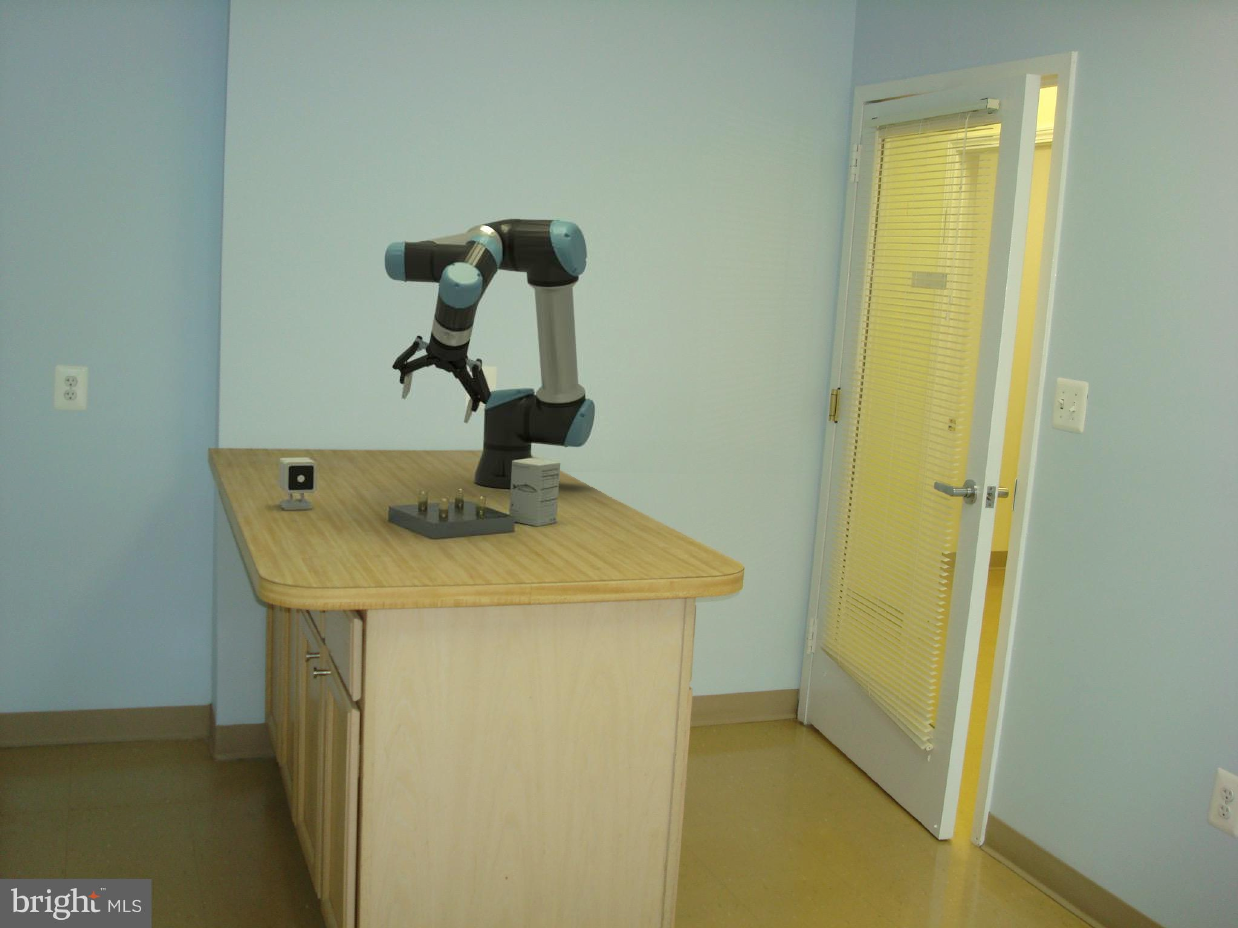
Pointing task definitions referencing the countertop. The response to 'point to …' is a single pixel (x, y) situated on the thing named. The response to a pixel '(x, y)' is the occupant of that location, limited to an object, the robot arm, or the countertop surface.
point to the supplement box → (534, 491)
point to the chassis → (451, 517)
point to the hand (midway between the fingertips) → (436, 406)
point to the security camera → (297, 481)
